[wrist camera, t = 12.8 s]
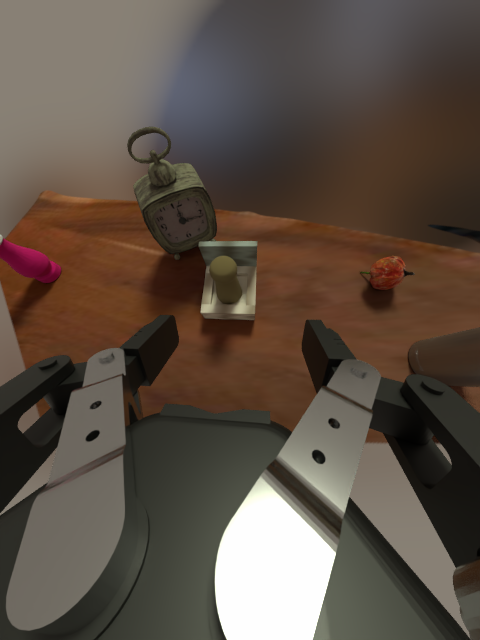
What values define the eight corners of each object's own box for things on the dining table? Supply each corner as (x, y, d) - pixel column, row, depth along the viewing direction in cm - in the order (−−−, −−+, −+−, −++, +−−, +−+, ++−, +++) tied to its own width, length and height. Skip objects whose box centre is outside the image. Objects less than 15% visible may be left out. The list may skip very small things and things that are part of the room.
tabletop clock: (173, 266, 49) (100, 161, 25) (164, 242, 52) (90, 127, 28) (222, 246, 50) (195, 127, 26) (211, 223, 53) (177, 98, 29)
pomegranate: (352, 291, 46) (401, 300, 38) (351, 266, 42) (405, 270, 34) (368, 275, 48) (418, 281, 40) (369, 249, 44) (424, 250, 36)
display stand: (256, 271, 47) (257, 241, 37) (254, 320, 43) (255, 301, 32) (210, 271, 48) (199, 241, 37) (205, 318, 44) (190, 299, 33)
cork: (222, 308, 41) (212, 284, 31) (212, 287, 43) (200, 258, 33) (246, 298, 42) (244, 270, 31) (236, 277, 43) (230, 245, 33)
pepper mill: (57, 258, 53) (-52, 190, 34) (67, 274, 51) (-44, 211, 32) (34, 272, 52) (-92, 211, 33) (43, 289, 50) (-86, 234, 31)
